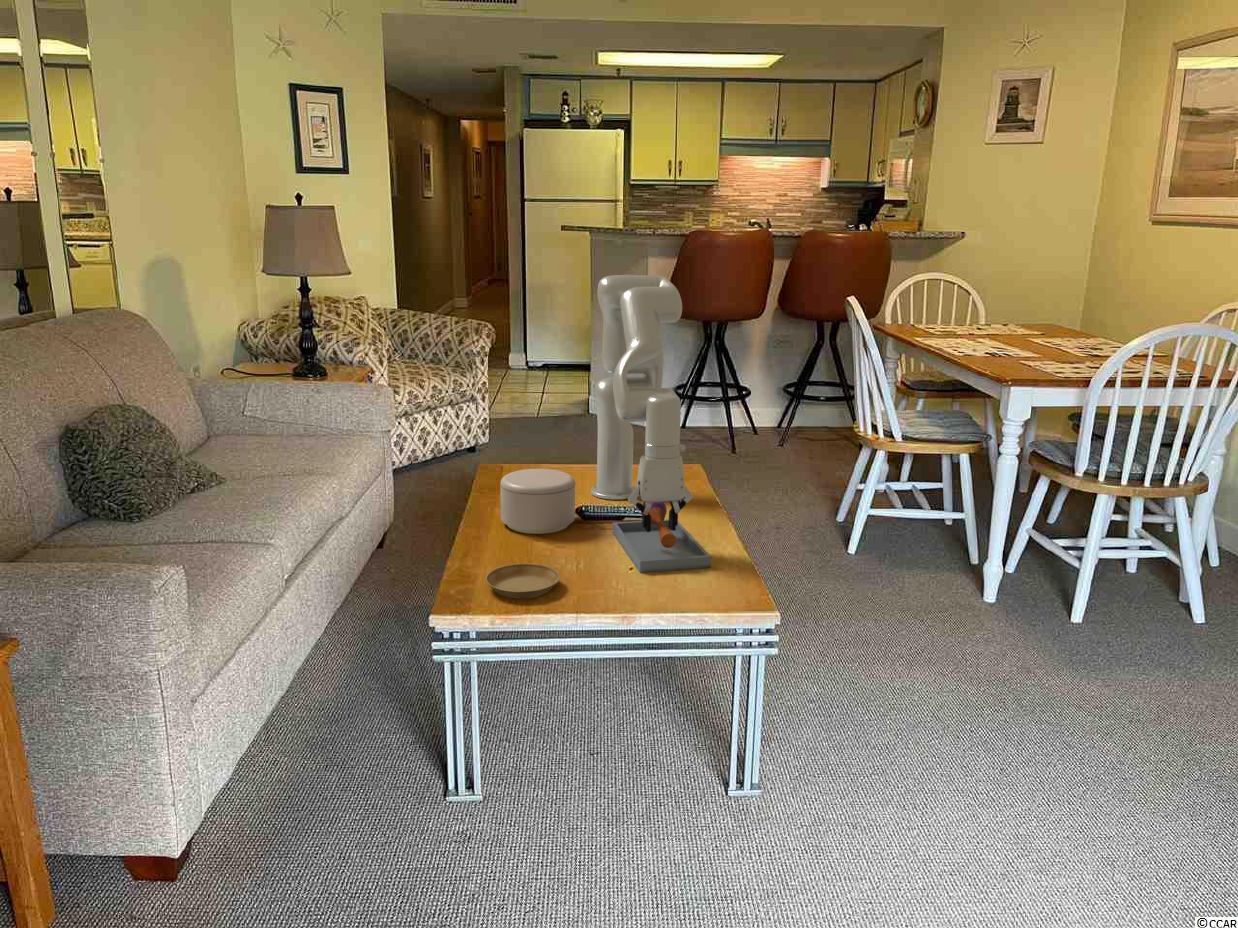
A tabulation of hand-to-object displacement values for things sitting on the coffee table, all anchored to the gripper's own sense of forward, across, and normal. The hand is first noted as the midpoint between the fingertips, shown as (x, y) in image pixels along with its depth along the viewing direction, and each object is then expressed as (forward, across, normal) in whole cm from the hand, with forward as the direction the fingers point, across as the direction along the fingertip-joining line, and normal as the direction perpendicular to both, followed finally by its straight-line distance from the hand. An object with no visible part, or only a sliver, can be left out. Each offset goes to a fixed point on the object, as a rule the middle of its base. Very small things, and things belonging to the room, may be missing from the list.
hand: (659, 528), depth 207 cm
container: (+5, +24, -23) cm, 34 cm away
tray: (+5, 0, 0) cm, 5 cm away
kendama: (+1, 0, 0) cm, 1 cm away
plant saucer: (+6, +33, +16) cm, 37 cm away
